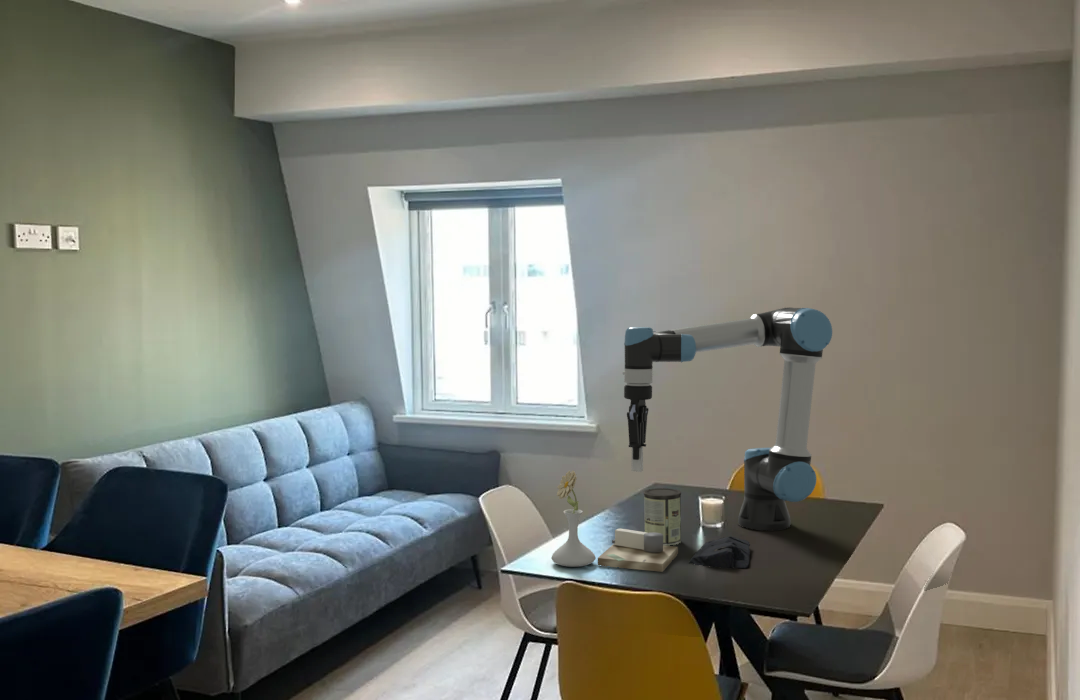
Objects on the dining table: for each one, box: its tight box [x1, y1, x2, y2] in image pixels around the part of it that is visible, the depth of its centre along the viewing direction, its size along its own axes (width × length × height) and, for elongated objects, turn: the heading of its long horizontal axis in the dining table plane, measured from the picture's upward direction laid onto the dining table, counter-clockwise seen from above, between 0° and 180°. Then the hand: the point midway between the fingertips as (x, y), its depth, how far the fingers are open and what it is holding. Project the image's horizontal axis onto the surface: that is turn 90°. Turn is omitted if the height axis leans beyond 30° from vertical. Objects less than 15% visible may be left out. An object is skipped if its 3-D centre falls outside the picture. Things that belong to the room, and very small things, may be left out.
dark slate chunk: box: [688, 536, 751, 569], centre depth 262 cm, size 15×22×5 cm
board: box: [597, 543, 679, 573], centre depth 260 cm, size 17×18×2 cm
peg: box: [611, 528, 663, 553], centre depth 263 cm, size 15×5×4 cm, turn 54°
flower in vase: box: [551, 470, 597, 568], centre depth 255 cm, size 13×11×25 cm
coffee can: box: [643, 487, 682, 546], centre depth 278 cm, size 10×10×14 cm
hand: (637, 470), depth 270 cm, fingers closed
